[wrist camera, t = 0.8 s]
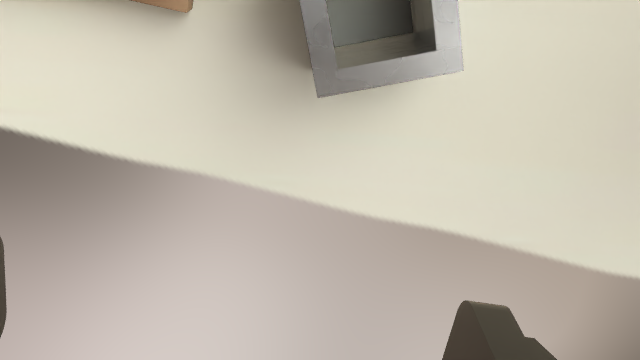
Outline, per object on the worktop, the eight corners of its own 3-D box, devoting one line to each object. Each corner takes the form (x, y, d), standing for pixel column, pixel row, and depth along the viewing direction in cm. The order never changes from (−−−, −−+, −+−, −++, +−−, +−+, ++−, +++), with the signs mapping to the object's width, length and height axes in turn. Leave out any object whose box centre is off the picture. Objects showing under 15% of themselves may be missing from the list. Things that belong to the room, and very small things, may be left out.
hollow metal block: (422, -85, 25) (450, -91, 21) (436, 49, 28) (463, 70, 23) (290, -59, 26) (288, -59, 21) (314, 72, 28) (317, 98, 23)
